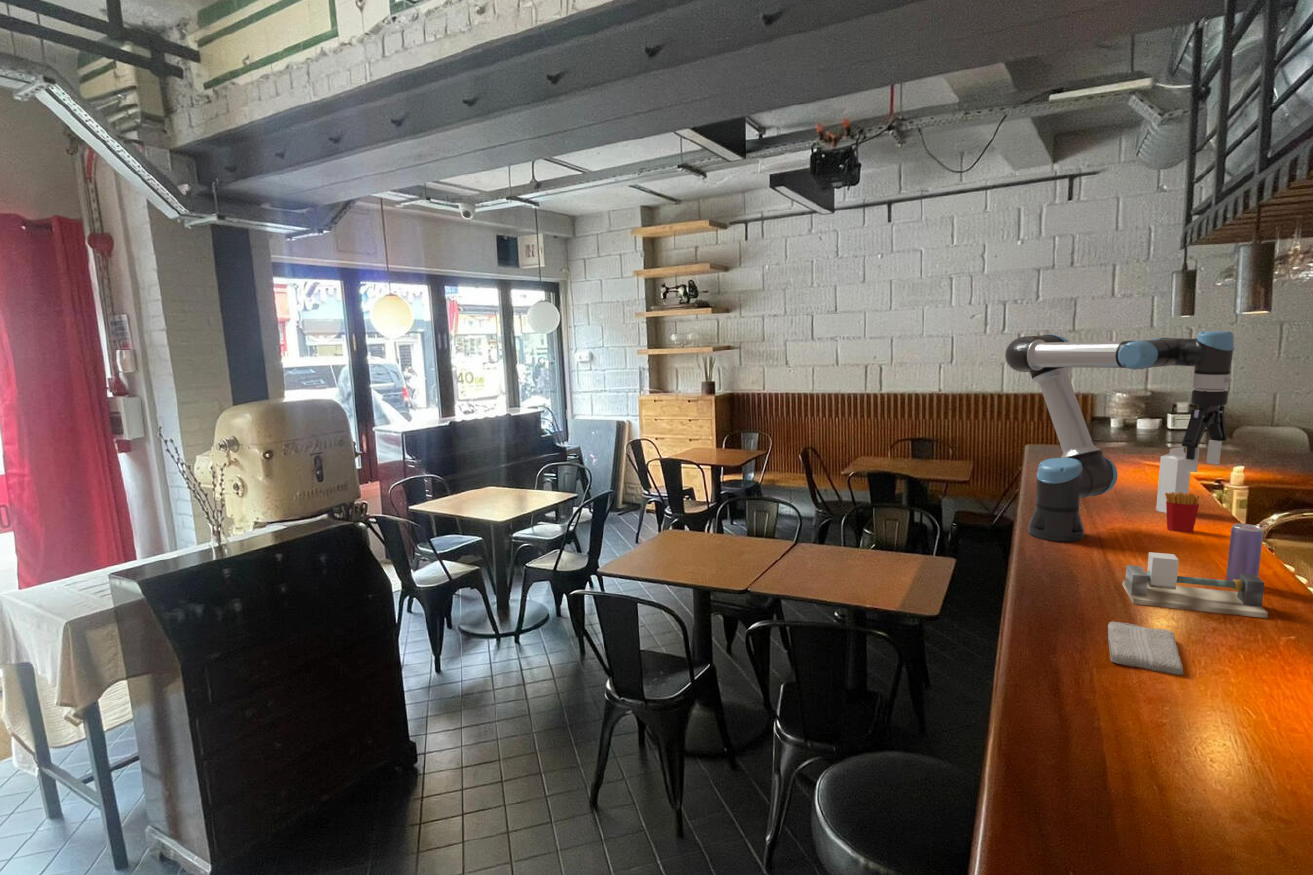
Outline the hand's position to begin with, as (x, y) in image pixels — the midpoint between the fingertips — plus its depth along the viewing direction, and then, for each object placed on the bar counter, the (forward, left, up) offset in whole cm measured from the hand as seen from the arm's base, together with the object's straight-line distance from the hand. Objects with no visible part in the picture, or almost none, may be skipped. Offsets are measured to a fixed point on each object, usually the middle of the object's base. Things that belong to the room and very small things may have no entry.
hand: (1201, 467), depth 186 cm
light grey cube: (-15, -35, -22) cm, 44 cm away
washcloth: (-25, -67, -26) cm, 76 cm away
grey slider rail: (-9, -35, -25) cm, 44 cm away
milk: (+6, +48, -26) cm, 55 cm away
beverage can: (+5, -20, -26) cm, 33 cm away
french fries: (+3, +26, -26) cm, 37 cm away
